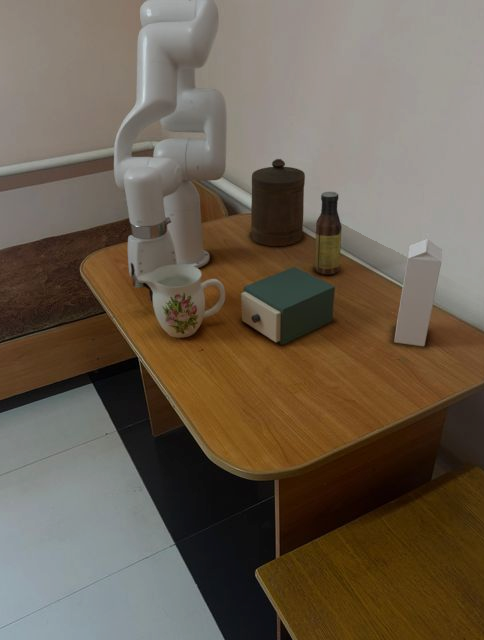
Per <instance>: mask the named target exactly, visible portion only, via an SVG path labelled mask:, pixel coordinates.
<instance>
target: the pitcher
mask: <svg viewBox="0 0 484 640" xmlns="http://www.w3.org/2000/svg"><path fill="white" fill-rule="evenodd" d="M202 276H203V275H202V271H201V270H200V269H199V268H196V267H194V266H191V265H184V264H176V265H168V266H163V267H160V268H157V269H155V270H154V271H152V272H149V273H145V274H141V275H139V276H138V277H137V279H138V280H139V281H141V282H144V283H146V284H147V285H148V286H149V287H150V288H151V290H152V291H153V303H152V305H153V306H152V308H153V311H154V314H155V318H156V321H158V324H159V325H160V327H161V328H162V329H163V330H164V331H165V333H166V334H168V335H169V336H171V337H173V338H178V339H179V338H187V337H190V336H193V335H194V334H196V332H197V331H198V330H199V328H200V326H201V325H202V323H203V320H204V319H206V318H209V317H211V316H213V315H216V313H218V312H219V311H220V310H221V309H222V307H223V306H224V304H225V301H226V290H225V287H224V284H223V283H222V282H221V280H219V279H216V278H210V279H207V280H205V281H203V282H202ZM210 286H215V287H217V289H218V291H219V298H218V301H217V303H216V304H214V306H212V307H211V308H209V309H207V310H206V296H205V290H206V289H207V288H208V287H210Z"/></svg>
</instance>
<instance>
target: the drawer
mask: <svg viewBox="0 0 484 640" xmlns="http://www.w3.org/2000/svg"><path fill="white" fill-rule="evenodd" d="M240 302H241V303H240V304H241V321H242V322H244V323H245V324H247V325H248V326H250V327H251V328H253V329H254V330H256V331H257V332H259V333H260V334H262V335H264V336H265V337H267V338H268V339H269V340H271V341H272V342H274V343H278V341H280V328H281V311H279V310H277V309H276V308H274V307H272V306H271V305H269V304H267V303H265V302H264V301H262V300H260V299H259V298H257V297H255V296H253V295H251V294H249V293H247V292H244V291H243V292H241V293H240Z"/></svg>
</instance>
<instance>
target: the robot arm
mask: <svg viewBox="0 0 484 640" xmlns="http://www.w3.org/2000/svg"><path fill="white" fill-rule="evenodd" d="M218 9H219V8H218V6H217V3H216V2H215V0H145V1H144V2H143V3H142V5H141V6H140V9H139V19H140V25H141V29H140V30H139V32H138V35H137V43H136V44H137V45H136V47H137V48H136V87H135V88H136V90H135V91H136V93H135V94H136V95H135V97H136V99H135V104H134V106H133V107H132V109H131V110H130V111H129V112H128V114H126V116H125V117H124V119H123V121H122V122H121V124H120V126H119V128H118V131H117V132H116V136H115V139H114V146H113V175H114V181H115V184H116V186H117V188H118V189H119V191H122V192H123V193H125V199H126V205H127V211H128V212H127V213H128V219H129V225H130V235H128V237H127V265H128V273H129V277H131V278H132V286H133V287H134V288H136V289H140V288H146V289H147V290H148V291H149V298H150V299H149V300H150V302H151V303H152V304H153V291H152V290H151V288H150V287H149V286H148V285H147V284H146V283H144V282H141V281H139V280H138V279H137V277H138V276H139V275H141V274H145V273H149V272H152V271H154V270H155V269H157V268H160V267H163V266H168V265H176V264H184V265H191V266H194V267H196V268H198V269H199V268H202V267H204V266H206V265H207V264H209V262H210V258H211V257H210V253H209V252H208V251H207V250H206V249H204V239H203V225H202V211H201V210H202V209H201V197H200V194H199V192H198V189H197V188H196V186H195V185H194V183H193V182H192V181H218V180H221V179H222V178H223V177H224V175H225V172H226V167H227V131H228V129H227V124H228V123H227V121H228V118H227V115H228V114H227V103H226V99H225V96H224V95H223V93H222V92H221V91H220V90H219V89H216V88H197V87H196V69H201V68H203V67H204V66H205V65H206V64H207V62H208V60H209V58H210V55H211V52H212V49H213V46H214V43H215V40H216V38H217V34H218V31H219V25H220V18H219V17H220V16H219V15H220V14H219V10H218ZM158 121H160V125H161V126H162V128H163V129H164V130H166V131H168V132H173V133H202V134H205V137H206V138H192V137H173V138H172V137H171V138H165V139H162V140H160V141H159V142H158V143H157V144H156V145H155V147H154V149H153V155H152V156H132V153H133V146H134V143H135V140H136V139H137V137H138V136H139V135H140V133H142V132H143V130H144V129H146V128H147V127H149V126H151V125H152V124H154V123H155V122H158Z"/></svg>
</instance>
